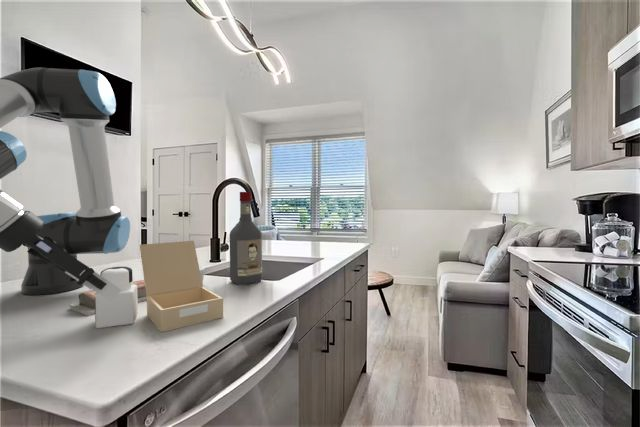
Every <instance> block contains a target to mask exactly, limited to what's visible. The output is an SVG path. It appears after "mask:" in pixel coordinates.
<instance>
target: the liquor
mask: <svg viewBox="0 0 640 427" xmlns="http://www.w3.org/2000/svg"><path fill="white" fill-rule="evenodd" d="M251 202H252V192H251V191H240V192H239V207H240V213H239V214H240V217H239V221H238V222H237V223H236V224H235V226H234V227H233V228H232V229H231V230H230V233H229V280H230V281H231V283H233V284H236V285H243V286H245V285H247V286H248V285H252V284H257V282H258V283H260V282H261V281H262V279H263V234H262V230H261V229H260V228H259V227H258V226H257V224H255V223H254V222H253V221H254V220H253V218H252V212H251V211H252V209H251V208H252V205H251V204H252V203H251Z"/></svg>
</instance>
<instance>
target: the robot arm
mask: <svg viewBox="0 0 640 427" xmlns="http://www.w3.org/2000/svg"><path fill="white" fill-rule="evenodd" d="M116 108H117V101H116V97H115V93H114V91H113V88H112V86H111V83H110V82H109V81H108V79H107V78H106V77H105V76H104V75H103V74H101V73H100V72H98V71H93V70H86V69H76V68H75V69H73V68H71V69H70V68H53V67H50V68H49V67H48V68H47V67H32V68H28V69H23V70H19V71H17V72H12V73H10V74H8V75H4V76H2V77H0V129H1V128H3V127H4V126H6V125H8V124H9V123H11V122H12V121H14V120H15V119H17V118H25V117H29V116H31V115H32V114H35V113H36V114H37V113H58V114H59V118H60V121H62V122H63V123H64V124H66V126H68V127H67V128H68V133H69V140H70V147H71V153H72V158H73V165H74V171H75V172H74V173H75V178H76V186H77V192H78V198H79V205H80V207H79V209H78V210H77V211H76V212H74V211H73V212H72V211H71V212H69V211H68V212H60V213H52V214H51V213H49V214H42V215H36V214H34V213H33V212H32V211H31V210H24V205H23V204H22V203H20V202H18V200H16V199H14V198H13V197H12V196H10V195H9V194H7V193H6V192H5V191H3V190H2V189H0V249H1V251H2V250H3V251H4V252H6V253H11V252H14V251H15V250H18V249H19V248H20V247H21V246H24V247H26V248H27V251H26V252H27V258H28V260H27V261H28V267H27V269H26V271H25V272H26V273H25V274H24V278H23V280H22V283H21V286H20V288H21V289H20V290H21V291H20V292H21V294H23V295H27V296H31V295H33V296H35V295H36V296H38V295H40V296H41V295H48V294H49V295H50V294H56V293H63V292H69V291H72V290H76V289H80V288H82V287H86V288H88V289H89V290H94V291H96V292H97V293H99V294H100V295H102V296H103V297H105V298H106V299H108V300H109V301H112V300H113V299H114V298H115V297H116V296H117V295H118V293H119V292H120V291H121V289H119V288H118V287H116V286H115V285H114V284H112V283H111V282H109V281H108V280H106V279H105V278H103V277H102V276H101V275H100V273H98V272H96V271H95V270H94V269H93V268H92V267H89V266H88V265H86V264H85V263H83V262H82V261H80V260H79V259H78V255H92V254H96V255H97V254H104V255H106V254H113V253H119V252H122V251H123V250H124V249H125V248H126V246H127V243H128V242H129V239H130V232H131V222H130V220H129V217H128V216H125V215H122V212H121V211H122V210H121V208H119V207H118V206H117V205H115V201H114V199H115V198H114V193H113V186H112V185H113V184H112V178H111V169H110V161H109V160H110V159H109V152H108V145H107V138H106V131H105V130H106V129H105V127H106V125H107V124H108V123H110V116H112V115H113V114H115V112H116V110H117V109H116ZM26 158H27V149H26V147H25V145H24V143H23V142H22V141H21V140H20V139H19V138H17V137H16V136H15V135H13V134H11V133H9V132H6V131H4V130H3V131H2V130H0V180H1V179H3V178H4V177H6V176H8V175H9V174H10V173H12V172H14V171H16V170H17V169H18V167H20V166H21V165H22V164H23V163H24V162H25V161H26Z"/></svg>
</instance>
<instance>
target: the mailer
mask: <svg viewBox="0 0 640 427" xmlns="http://www.w3.org/2000/svg"><path fill="white" fill-rule="evenodd" d="M139 250H140V258H141V265H142V272H143V280H144V281H145V289H146V296H147V300H146V315H147V317H148V318H149V319H150V320H151V321H152V322H153V324H154V325H155V327H156V328H157V329H158V331H160V332H161V333H163V332H168V331H171V330H176V329H180V328H184V327H188V326H191V325H192V326H193V325H196V324H200V323H205V322H208V321H209V322H210V321H214V320H217V319H218V320H219V319H222V318H223V319H224V298H223V296H220V295H218V294H216V293H215V292H213V291H211V290H210V289H208V288H206V287H204V286H203V282H202V279H201V274H200V269H199V266H200V265H199V261H198V260H199V259H198V255H197V250H196V245H195V241H194V240H184V241H172V242H160V243H145V244H139Z"/></svg>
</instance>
